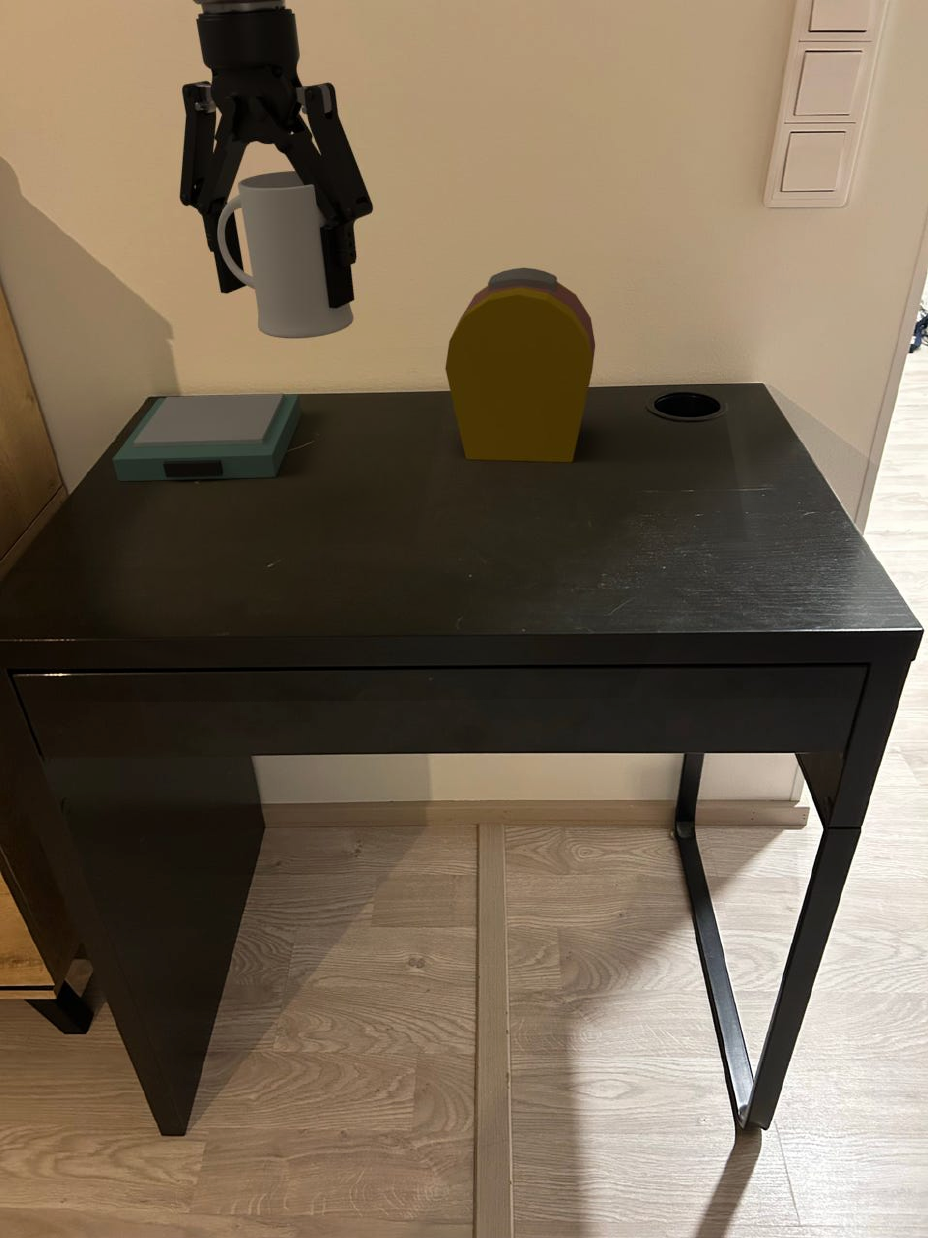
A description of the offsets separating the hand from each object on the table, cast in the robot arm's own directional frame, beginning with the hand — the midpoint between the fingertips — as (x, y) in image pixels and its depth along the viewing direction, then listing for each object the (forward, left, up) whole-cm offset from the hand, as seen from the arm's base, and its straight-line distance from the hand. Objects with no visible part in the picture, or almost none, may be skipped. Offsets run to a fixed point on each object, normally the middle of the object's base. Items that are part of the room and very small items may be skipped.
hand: (286, 296), depth 85 cm
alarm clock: (+14, +20, -20) cm, 32 cm away
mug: (0, 0, -2) cm, 2 cm away
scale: (-18, +6, -20) cm, 28 cm away
